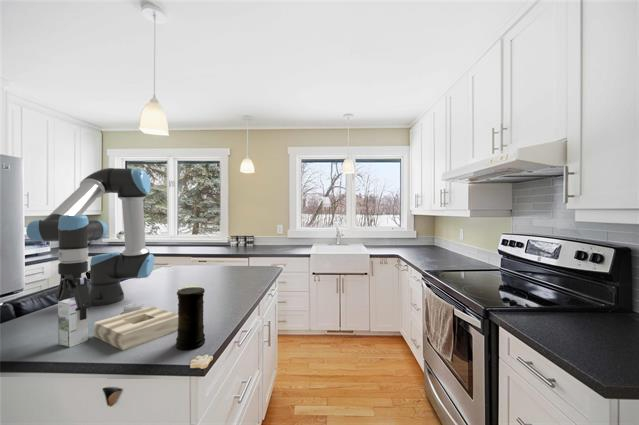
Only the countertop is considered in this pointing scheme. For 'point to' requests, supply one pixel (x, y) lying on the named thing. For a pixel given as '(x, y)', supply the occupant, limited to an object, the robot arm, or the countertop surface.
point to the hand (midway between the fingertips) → (72, 325)
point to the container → (190, 318)
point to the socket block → (136, 327)
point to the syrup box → (69, 324)
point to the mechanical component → (133, 307)
